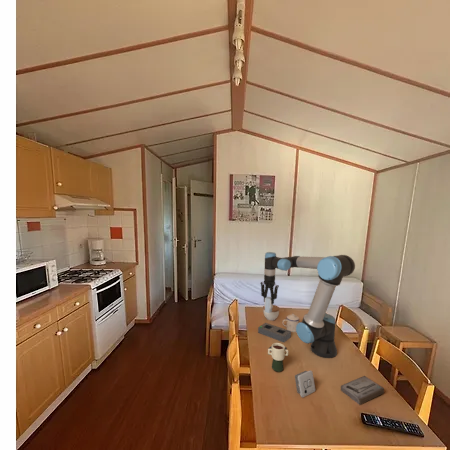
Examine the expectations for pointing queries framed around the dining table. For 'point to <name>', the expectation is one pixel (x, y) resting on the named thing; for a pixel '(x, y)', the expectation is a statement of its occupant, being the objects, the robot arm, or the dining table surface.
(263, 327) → the battery charging station
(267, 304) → the plug
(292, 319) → the teacup with lid
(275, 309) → the lidded bowl
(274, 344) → the character mug
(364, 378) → the box
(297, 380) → the electrical switch
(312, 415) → the dining table surface
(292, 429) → the dining table surface
